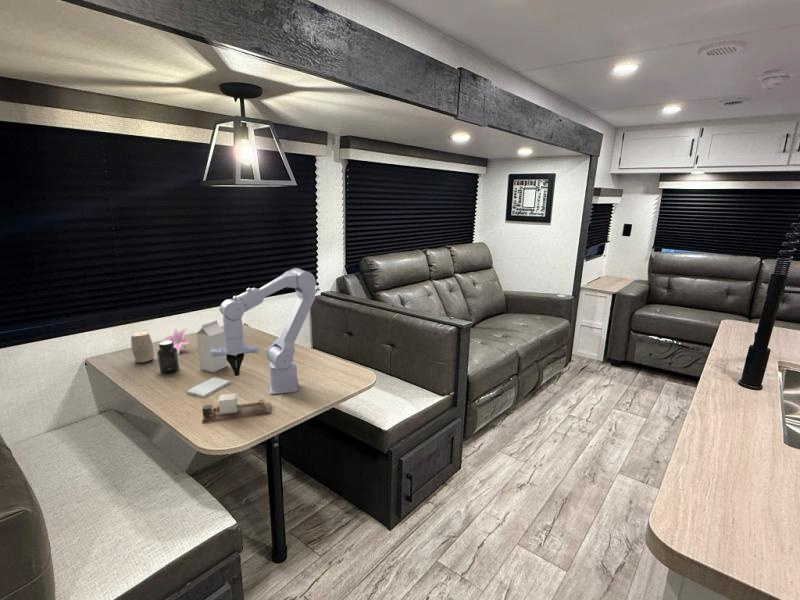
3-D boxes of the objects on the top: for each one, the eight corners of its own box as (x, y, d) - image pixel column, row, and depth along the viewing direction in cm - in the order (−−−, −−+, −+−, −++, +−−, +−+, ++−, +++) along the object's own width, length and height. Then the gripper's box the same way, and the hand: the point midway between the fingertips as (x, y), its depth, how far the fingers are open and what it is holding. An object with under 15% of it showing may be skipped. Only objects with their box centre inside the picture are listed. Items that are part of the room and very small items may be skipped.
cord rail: (270, 404, 138) (269, 394, 138) (270, 413, 133) (270, 403, 132) (204, 413, 132) (203, 402, 132) (202, 422, 127) (201, 412, 126)
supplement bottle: (160, 369, 164) (156, 340, 161) (179, 366, 167) (176, 338, 164) (159, 376, 158) (155, 346, 155) (179, 373, 161) (176, 343, 158)
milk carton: (227, 366, 168) (223, 321, 163) (213, 372, 162) (208, 326, 157) (214, 363, 171) (210, 318, 166) (200, 369, 165) (195, 323, 160)
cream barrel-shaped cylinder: (132, 360, 172) (128, 333, 169) (153, 356, 176) (149, 329, 173) (135, 365, 167) (130, 337, 164) (156, 361, 172) (152, 333, 169)
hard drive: (213, 376, 156) (185, 390, 145) (230, 380, 153) (203, 395, 142) (213, 380, 156) (186, 394, 145) (230, 384, 153) (203, 399, 142)
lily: (164, 350, 186) (154, 336, 180) (188, 335, 192) (180, 321, 186) (176, 364, 180) (167, 350, 174) (201, 348, 186) (193, 334, 180)
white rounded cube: (237, 407, 134) (236, 393, 133) (237, 413, 131) (235, 398, 129) (221, 409, 133) (219, 395, 132) (219, 415, 129) (218, 401, 128)
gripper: (208, 342, 129) (212, 382, 133) (257, 338, 134) (259, 377, 137) (210, 335, 136) (214, 373, 139) (257, 331, 140) (260, 368, 144)
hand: (237, 374), depth 139 cm, fingers closed
